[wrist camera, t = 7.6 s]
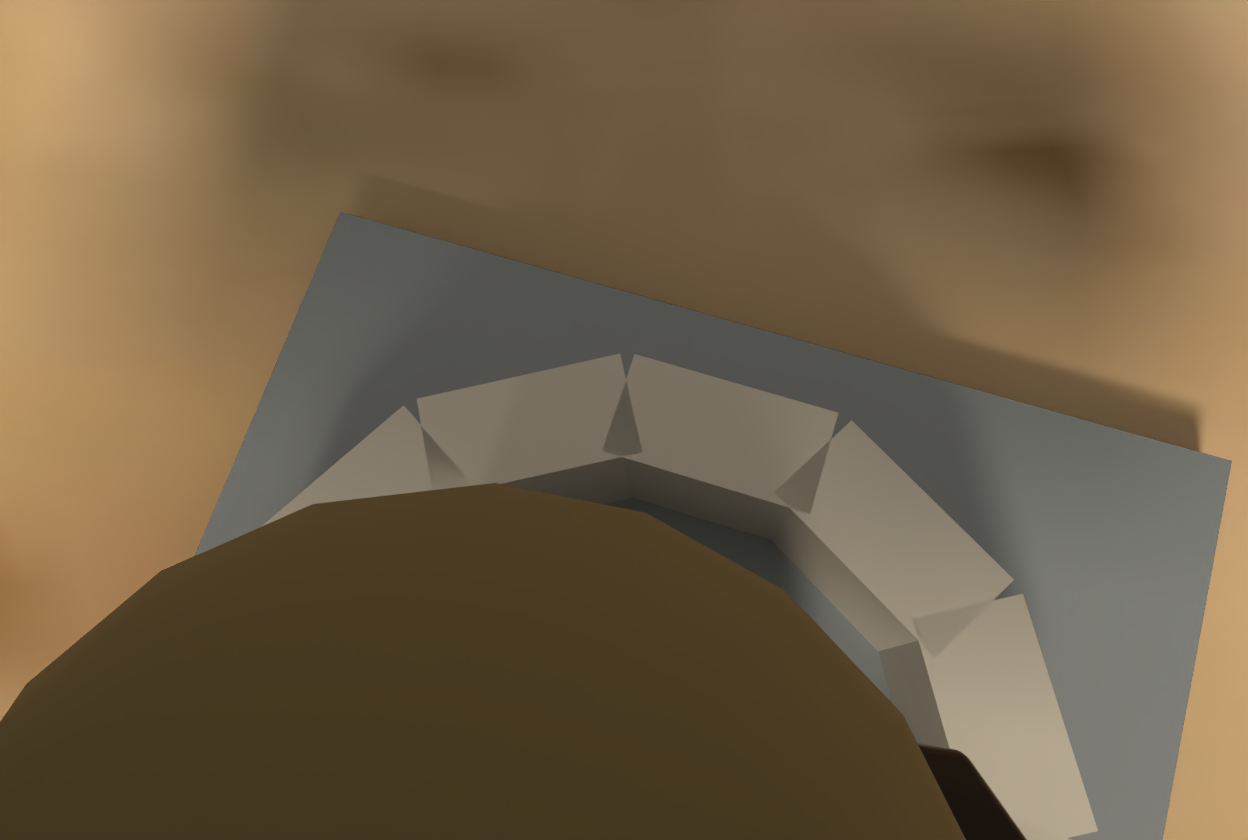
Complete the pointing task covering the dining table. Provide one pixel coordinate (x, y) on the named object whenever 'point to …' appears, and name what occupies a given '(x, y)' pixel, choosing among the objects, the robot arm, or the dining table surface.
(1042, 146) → the dining table surface
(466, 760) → the cork
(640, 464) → the mount
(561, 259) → the dining table surface
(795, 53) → the dining table surface
